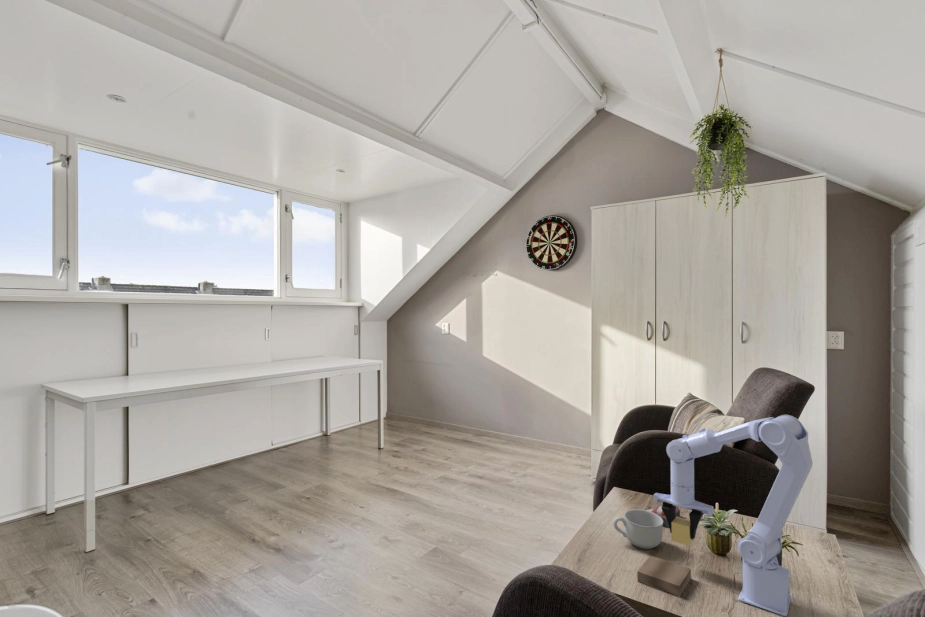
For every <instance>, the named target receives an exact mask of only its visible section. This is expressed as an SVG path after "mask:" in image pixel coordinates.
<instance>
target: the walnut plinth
mask: <svg viewBox="0 0 925 617" xmlns="http://www.w3.org/2000/svg"><path fill="white" fill-rule="evenodd" d="M636 579H637V582H639V583H642V584H644V585H646V586H649V587H652V588H654V587H655V589H657V588H658V590H660V589H661V590H660V591H663V590H664V591H663V592H665V593H668V592H669V593H668V594H672V595H674V596H677V597H679V596H681V595H682V594H683V592H684V590H685V588H687V586H688V584H689V583H690V581H691V580H692V569H691V568H689V567H687V566H683V565H681V564H677V563H674V562H672V561H668V560H666V559H665V560H664V559H662V558H659V557H655V556H653V555H650V556H649V557H648V558H647V559H646V560H645V562H644V563H643V564H642V565H641V566H640V568H639V569H638V570H637V578H636Z"/></svg>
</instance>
